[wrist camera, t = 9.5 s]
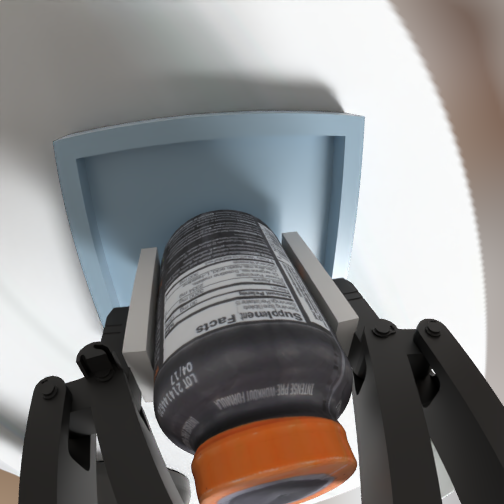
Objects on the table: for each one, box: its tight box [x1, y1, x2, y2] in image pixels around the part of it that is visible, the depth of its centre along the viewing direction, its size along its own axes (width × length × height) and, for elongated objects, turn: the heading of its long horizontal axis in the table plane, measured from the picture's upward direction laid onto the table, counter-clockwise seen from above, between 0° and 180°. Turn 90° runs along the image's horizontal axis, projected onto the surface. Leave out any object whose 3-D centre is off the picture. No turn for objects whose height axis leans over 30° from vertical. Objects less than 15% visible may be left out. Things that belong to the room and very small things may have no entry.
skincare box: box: [431, 441, 455, 499], centre depth 45 cm, size 8×6×15 cm
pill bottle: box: [153, 210, 357, 504], centre depth 10 cm, size 6×6×11 cm
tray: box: [53, 111, 365, 327], centre depth 16 cm, size 14×14×2 cm
